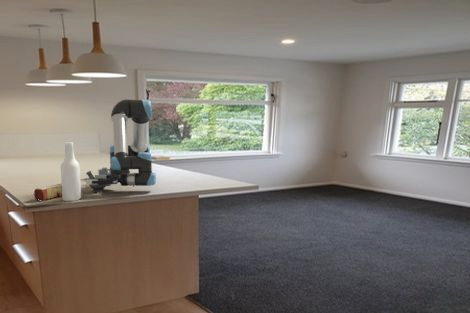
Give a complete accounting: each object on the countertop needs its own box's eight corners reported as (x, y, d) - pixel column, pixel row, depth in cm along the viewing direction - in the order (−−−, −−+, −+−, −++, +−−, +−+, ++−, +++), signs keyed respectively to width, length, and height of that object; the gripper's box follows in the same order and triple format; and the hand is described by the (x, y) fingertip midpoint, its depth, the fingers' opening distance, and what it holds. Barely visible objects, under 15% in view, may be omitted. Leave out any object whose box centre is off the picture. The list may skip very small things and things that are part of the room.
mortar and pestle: (109, 189, 199) (108, 169, 197) (105, 193, 190) (104, 172, 188) (89, 189, 198) (88, 169, 196) (84, 193, 188) (83, 172, 187)
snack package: (67, 192, 192) (66, 180, 192) (76, 193, 190) (75, 181, 189) (33, 200, 173) (32, 188, 172) (43, 202, 170) (42, 189, 170)
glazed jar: (97, 185, 210) (96, 167, 209) (108, 183, 215) (107, 166, 213) (101, 187, 205) (101, 169, 204) (112, 185, 210) (112, 168, 208)
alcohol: (83, 197, 180) (80, 141, 176) (78, 201, 171) (75, 143, 168) (65, 197, 178) (62, 141, 175) (60, 202, 170) (56, 143, 166)
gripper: (122, 190, 182) (82, 190, 181) (133, 181, 207) (98, 181, 205) (122, 177, 181) (82, 177, 180) (133, 169, 206) (98, 169, 204)
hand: (90, 179), depth 193 cm, fingers open, 13 cm apart
